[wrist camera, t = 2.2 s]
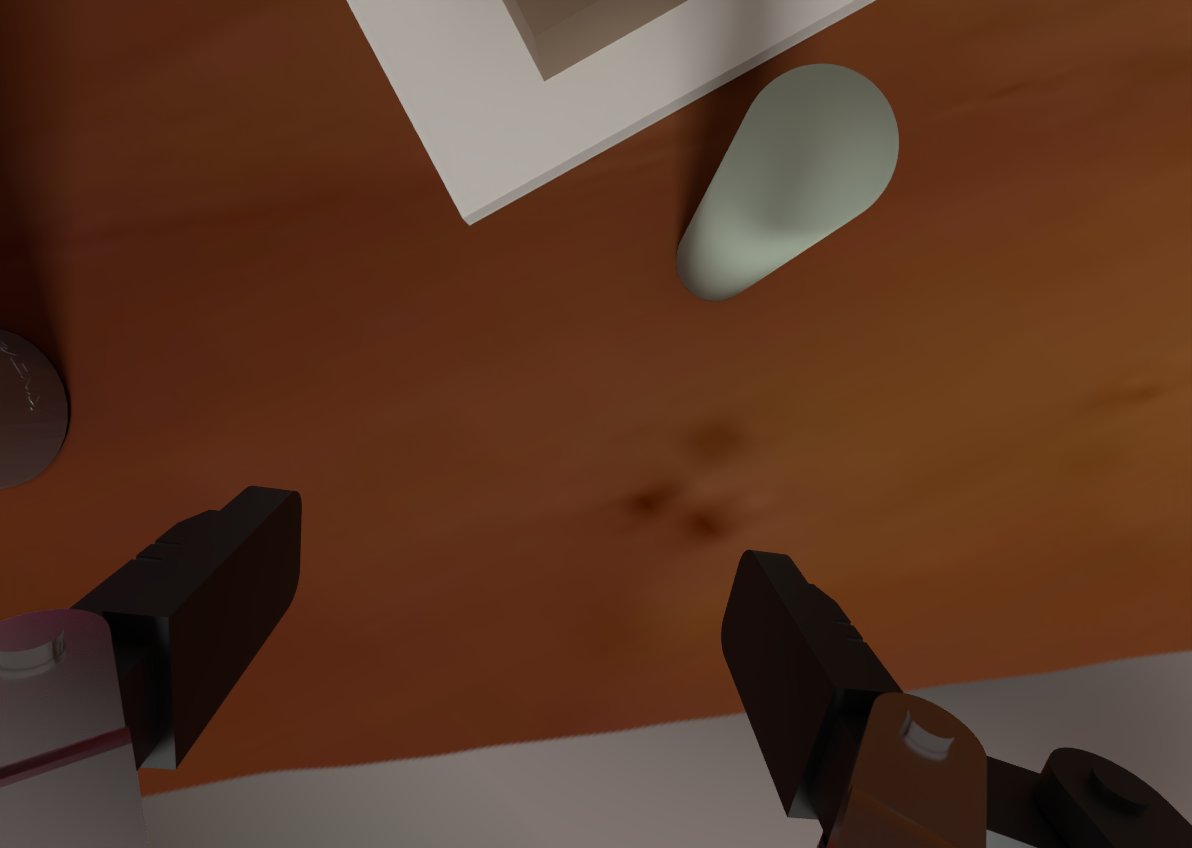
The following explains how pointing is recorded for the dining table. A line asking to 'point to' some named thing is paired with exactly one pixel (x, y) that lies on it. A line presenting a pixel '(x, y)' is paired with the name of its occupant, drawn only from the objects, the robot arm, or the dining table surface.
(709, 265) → the green dowel
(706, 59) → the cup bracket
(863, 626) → the dining table surface
